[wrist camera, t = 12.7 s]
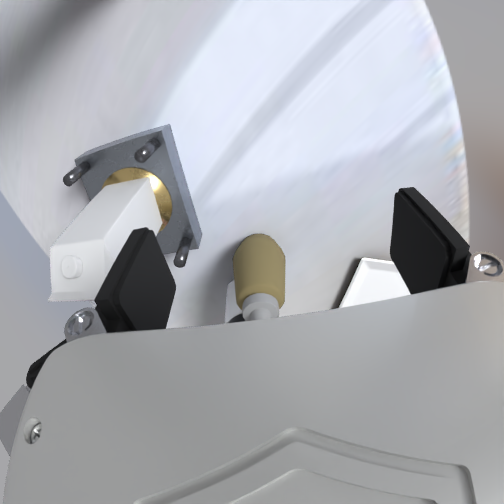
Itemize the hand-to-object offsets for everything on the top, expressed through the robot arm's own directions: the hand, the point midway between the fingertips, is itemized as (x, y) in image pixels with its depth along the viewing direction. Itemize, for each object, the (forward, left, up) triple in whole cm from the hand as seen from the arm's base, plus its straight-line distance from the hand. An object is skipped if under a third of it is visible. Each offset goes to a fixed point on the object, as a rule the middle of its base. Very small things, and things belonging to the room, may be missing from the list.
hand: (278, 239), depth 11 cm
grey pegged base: (+8, -19, -30) cm, 37 cm away
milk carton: (+8, -19, -26) cm, 33 cm away
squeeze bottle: (+21, -4, -31) cm, 37 cm away
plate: (+37, +19, -31) cm, 52 cm away
